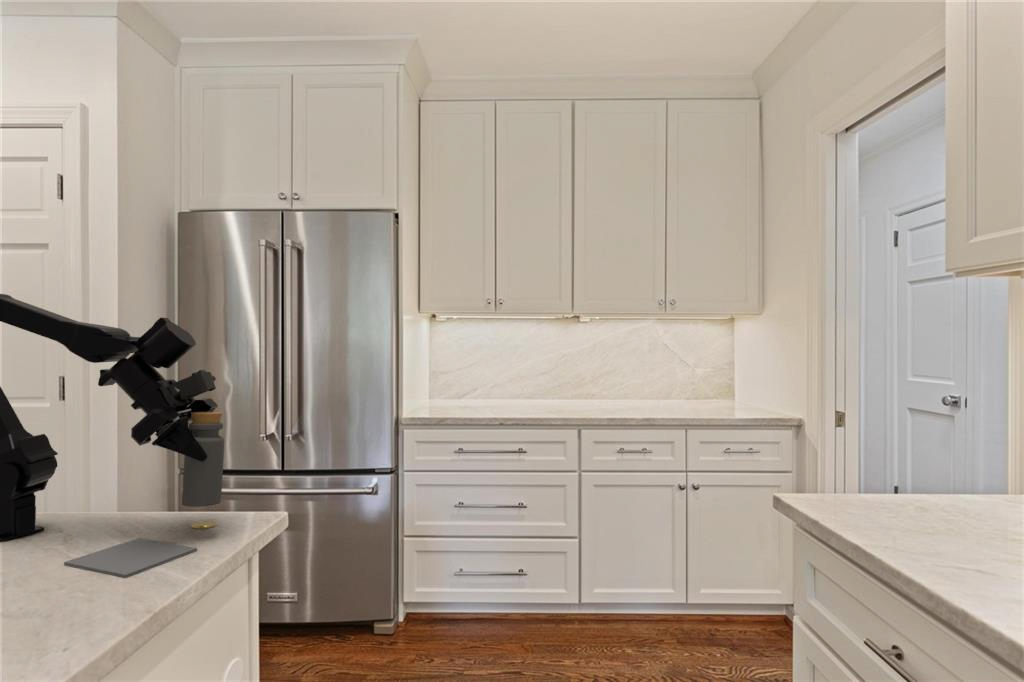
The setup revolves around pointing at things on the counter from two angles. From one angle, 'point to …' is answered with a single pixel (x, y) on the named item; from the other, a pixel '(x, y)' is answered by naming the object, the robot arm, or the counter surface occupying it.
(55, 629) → the counter surface
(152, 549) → the slate mat
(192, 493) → the bottle
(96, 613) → the counter surface
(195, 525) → the brass token
